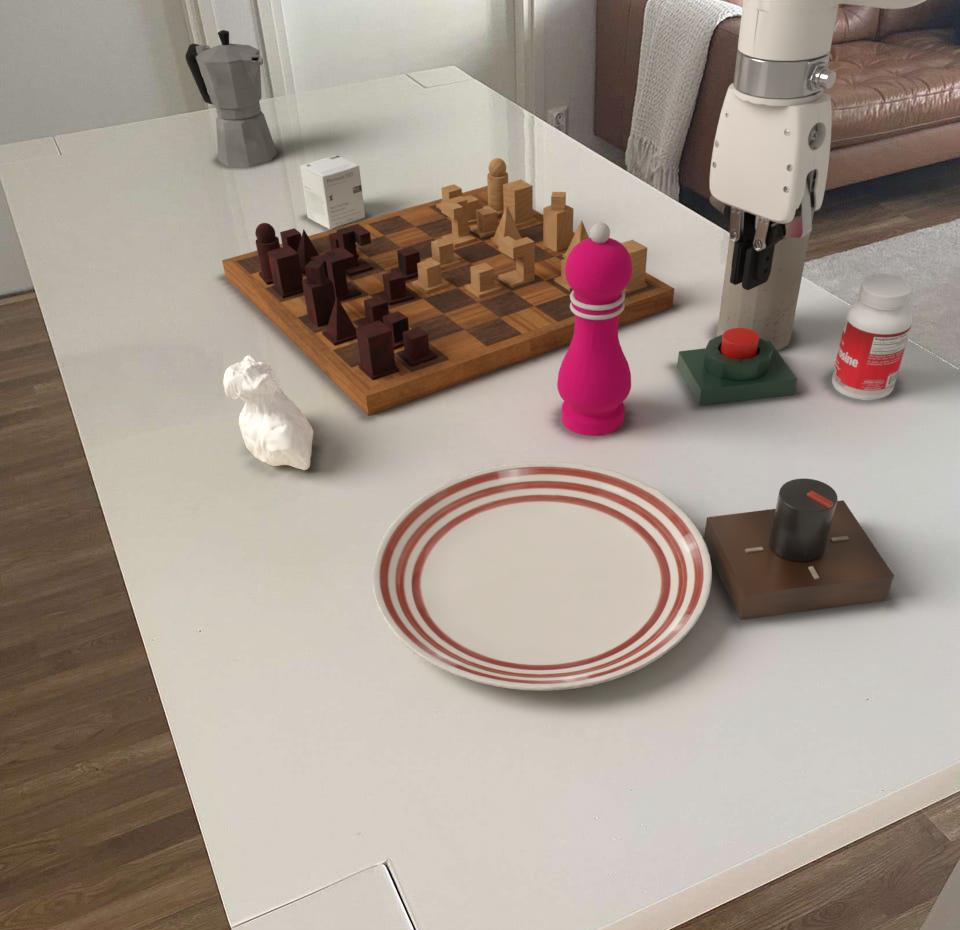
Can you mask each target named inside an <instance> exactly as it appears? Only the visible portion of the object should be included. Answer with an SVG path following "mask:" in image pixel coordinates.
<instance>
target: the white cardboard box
mask: <svg viewBox="0 0 960 930" xmlns="http://www.w3.org/2000/svg"><path fill="white" fill-rule="evenodd" d="M299 169H300V171H299V172H300V176H301V182H302V189H303V194H304V195H303V196H304V201H305V202H304V203H305V208H306V216H307V219H309V220H311V221H313V222H315V223H317V224H319V225H321V226H322V227H325V228H326V229H328V230H332V229H335V228H339V227H342V226H345V225H348V224H349V223H350V224H351V223H354V222H356V221H359V220H363V219H365V218H366V211H365V204H364V195H363V187H362V186H363V185H362V179H361V178H362V177H361V169H360V165H359V164H358V163H356V162H354V161H351V160H349V159H347V158H345V157H342V156H340V155H338V154H335V155H332V156H329V157H325V158H320V159H317V160H314V161H312V162H309V163H305V164H301V165H300V166H299Z"/></svg>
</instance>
